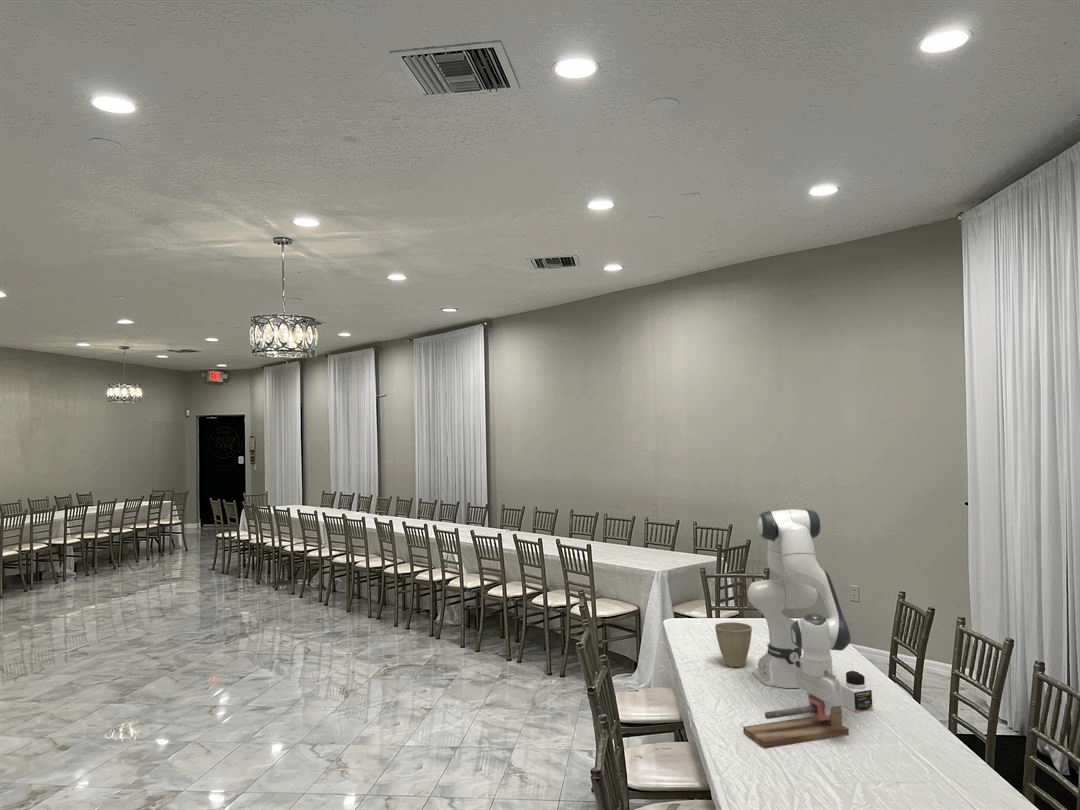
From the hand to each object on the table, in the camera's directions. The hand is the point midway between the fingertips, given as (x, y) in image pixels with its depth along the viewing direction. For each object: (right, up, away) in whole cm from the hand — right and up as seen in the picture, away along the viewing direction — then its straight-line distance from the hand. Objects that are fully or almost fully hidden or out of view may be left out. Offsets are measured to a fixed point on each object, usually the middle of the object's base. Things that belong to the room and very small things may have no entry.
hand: (820, 710), depth 230 cm
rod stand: (-9, -6, -3) cm, 11 cm away
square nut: (0, -2, 0) cm, 2 cm away
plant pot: (-9, -10, +66) cm, 68 cm away
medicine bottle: (+19, -6, +17) cm, 26 cm away
